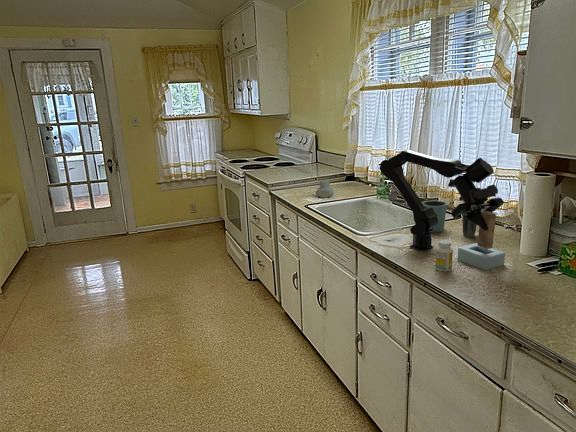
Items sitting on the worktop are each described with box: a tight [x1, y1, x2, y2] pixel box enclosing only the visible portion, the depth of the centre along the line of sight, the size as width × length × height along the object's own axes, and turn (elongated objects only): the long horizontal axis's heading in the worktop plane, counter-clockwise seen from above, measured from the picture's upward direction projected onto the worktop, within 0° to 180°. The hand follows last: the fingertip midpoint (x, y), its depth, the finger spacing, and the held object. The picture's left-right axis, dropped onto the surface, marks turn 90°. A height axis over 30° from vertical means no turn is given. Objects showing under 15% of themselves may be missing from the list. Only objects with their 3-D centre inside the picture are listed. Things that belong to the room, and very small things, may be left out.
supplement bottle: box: [434, 239, 454, 272], centre depth 145 cm, size 5×5×10 cm
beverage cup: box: [461, 213, 478, 238], centre depth 175 cm, size 7×7×20 cm
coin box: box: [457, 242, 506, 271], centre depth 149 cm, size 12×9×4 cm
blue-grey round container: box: [422, 199, 448, 233], centre depth 187 cm, size 10×10×12 cm
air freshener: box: [315, 179, 335, 199], centre depth 260 cm, size 11×8×10 cm
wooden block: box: [477, 211, 497, 249], centre depth 143 cm, size 4×2×12 cm, turn 23°
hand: (490, 229), depth 142 cm, fingers closed on wooden block, 2 cm apart
